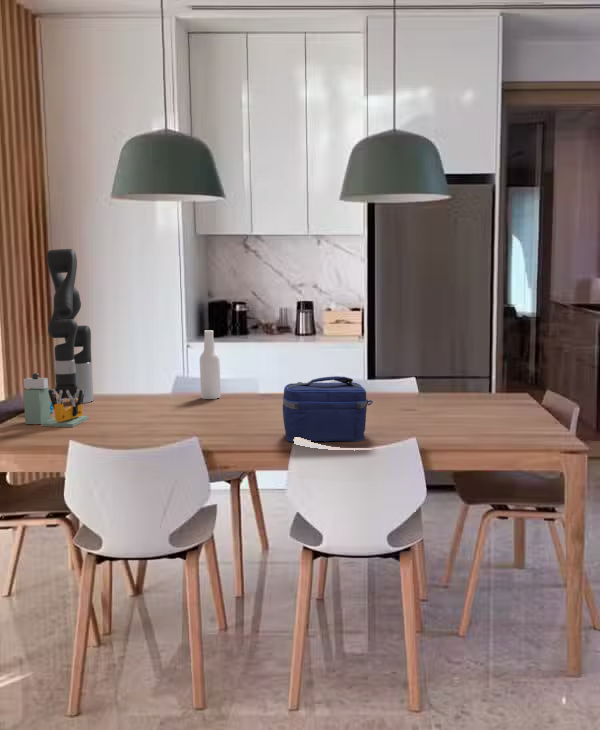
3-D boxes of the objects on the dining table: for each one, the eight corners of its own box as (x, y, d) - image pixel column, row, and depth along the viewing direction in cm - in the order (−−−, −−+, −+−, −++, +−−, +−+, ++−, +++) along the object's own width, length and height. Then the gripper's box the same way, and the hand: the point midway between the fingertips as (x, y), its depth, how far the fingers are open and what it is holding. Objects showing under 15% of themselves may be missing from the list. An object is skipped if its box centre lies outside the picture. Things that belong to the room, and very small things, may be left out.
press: (39, 418, 315) (37, 385, 313) (88, 418, 312) (86, 385, 310) (21, 426, 300) (19, 392, 298) (73, 427, 298) (71, 392, 296)
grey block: (28, 386, 307) (27, 372, 307) (48, 386, 306) (47, 372, 306) (24, 388, 304) (23, 374, 303) (44, 388, 303) (43, 374, 302)
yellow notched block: (73, 414, 312) (72, 398, 311) (82, 415, 310) (81, 398, 309) (51, 420, 301) (50, 404, 300) (60, 421, 299) (59, 404, 298)
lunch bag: (366, 427, 289) (366, 371, 286) (378, 441, 268) (378, 380, 265) (281, 431, 286) (280, 374, 283) (286, 444, 265) (285, 383, 262)
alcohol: (197, 399, 351) (194, 331, 347) (207, 395, 359) (205, 329, 355) (214, 400, 348) (212, 331, 344) (224, 397, 356) (222, 329, 352)
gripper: (87, 370, 306) (89, 414, 308) (51, 370, 307) (54, 413, 310) (79, 373, 298) (82, 418, 301) (43, 373, 300) (45, 417, 302)
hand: (67, 415), depth 305 cm, fingers closed on yellow notched block, 5 cm apart
